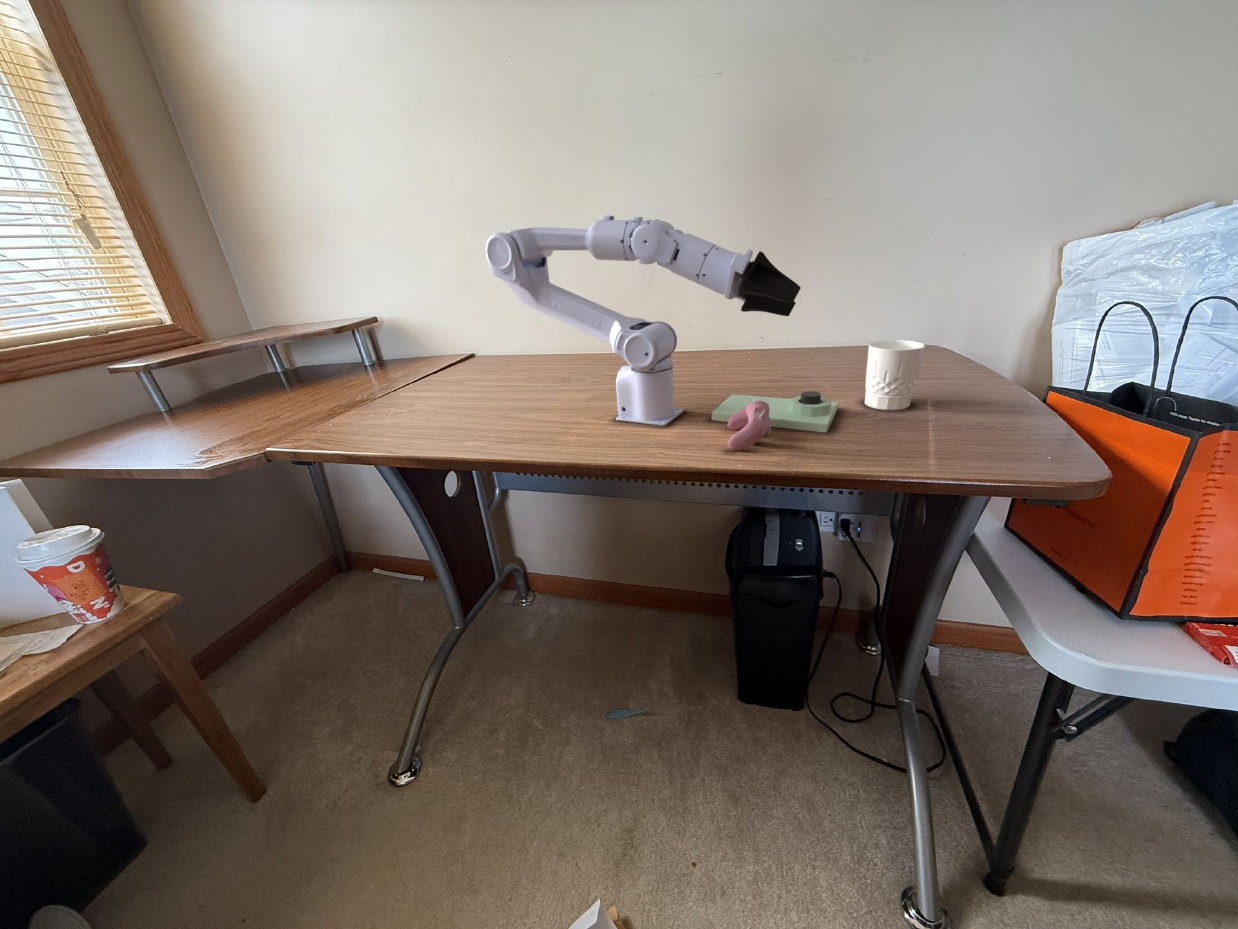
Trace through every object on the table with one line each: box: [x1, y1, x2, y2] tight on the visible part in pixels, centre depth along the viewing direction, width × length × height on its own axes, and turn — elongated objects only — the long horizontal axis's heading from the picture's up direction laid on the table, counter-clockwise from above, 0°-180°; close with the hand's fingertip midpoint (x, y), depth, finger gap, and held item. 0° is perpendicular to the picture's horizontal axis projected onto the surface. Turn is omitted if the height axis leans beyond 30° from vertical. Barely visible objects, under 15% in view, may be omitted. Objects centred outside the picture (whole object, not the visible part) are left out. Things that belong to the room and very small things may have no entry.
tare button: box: [800, 390, 822, 405], centre depth 76 cm, size 3×3×2 cm
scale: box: [711, 393, 839, 433], centre depth 79 cm, size 18×11×3 cm, turn 60°
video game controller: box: [726, 399, 772, 452], centre depth 70 cm, size 10×5×7 cm, turn 168°
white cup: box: [864, 339, 926, 411], centre depth 79 cm, size 8×8×10 cm
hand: (794, 302), depth 67 cm, fingers open, 7 cm apart
